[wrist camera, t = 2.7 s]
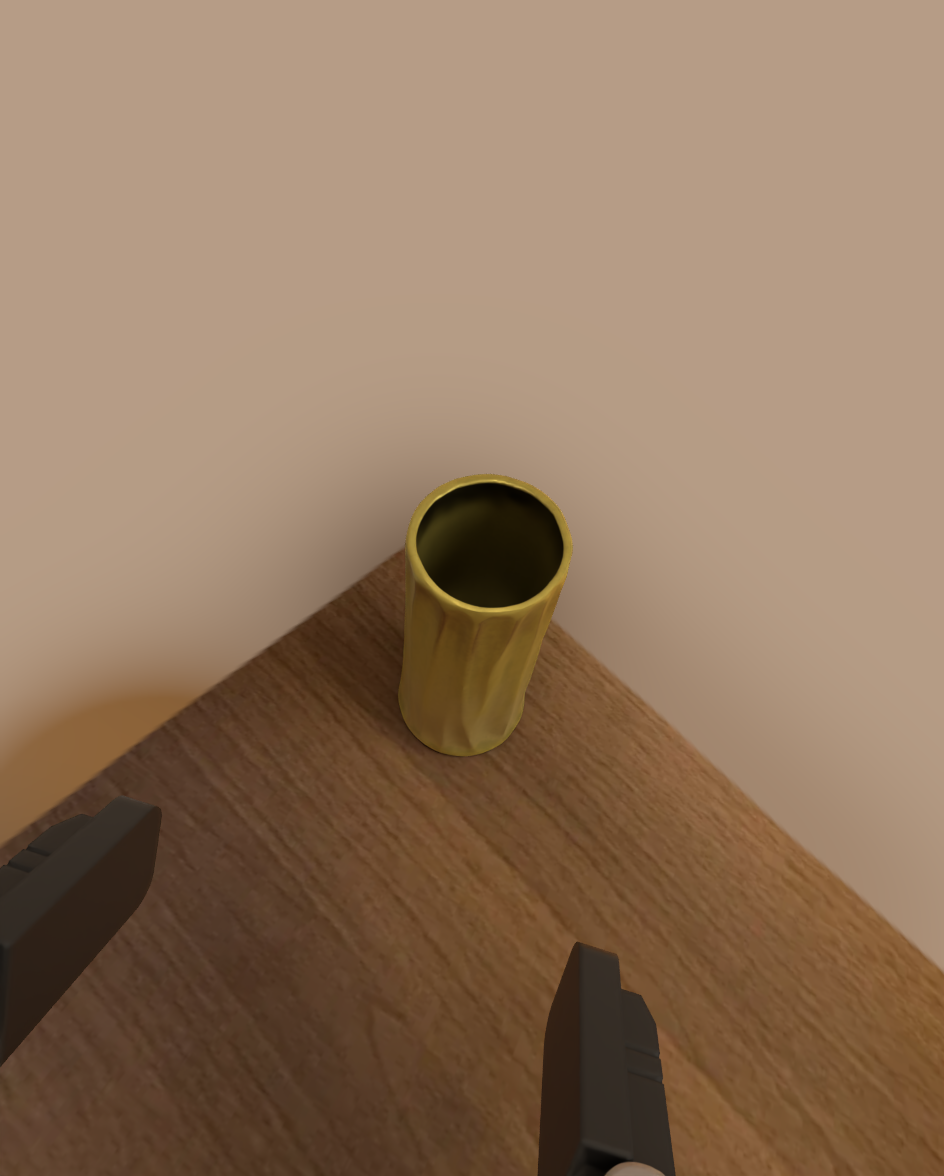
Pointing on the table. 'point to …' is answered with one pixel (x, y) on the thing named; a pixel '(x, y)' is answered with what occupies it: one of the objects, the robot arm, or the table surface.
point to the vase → (477, 608)
